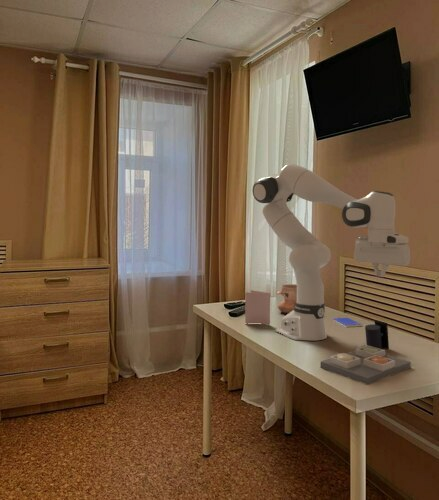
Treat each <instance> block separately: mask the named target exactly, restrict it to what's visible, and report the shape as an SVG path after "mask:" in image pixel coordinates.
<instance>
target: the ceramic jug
mask: <svg viewBox="0 0 439 500" xmlns="http://www.w3.org/2000/svg"><path fill="white" fill-rule="evenodd" d="M280 288H281V291H277V292H276V294H277V295H281V296H283V298H284V299H283V300H282V301H281V302H279V303H278V305H277V309H279V311H280V312H282V313H283V314H286V313H287V314H289V313H290V312H291V311H293V309H294V306H292V305H294V304H292V303H296V302H297V284H294V283H293V284H292V283H289V284H282V285H280ZM287 314H286V315H287Z"/></svg>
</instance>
